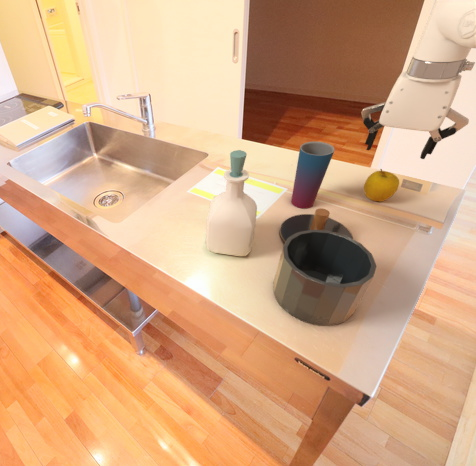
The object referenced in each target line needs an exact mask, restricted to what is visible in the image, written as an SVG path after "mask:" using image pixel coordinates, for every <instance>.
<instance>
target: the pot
mask: <svg viewBox="0 0 476 466" xmlns="http://www.w3.org/2000/svg"><path fill="white" fill-rule="evenodd" d="M278 260H279V261H278V264H277V268H276V272H275V276H274V280H273V282H272V283H273V284H272V285H273V289H272V290H273V295H274V298H275V300H276V302H277V303H278V305H279V306H280V307H281V308H282V309H283V311H285V312H286V313H287V314H288V315H290V316H292V318H295V319H297V320H299V321H301V322H303V323H306V324H309V325H312V326H313V325H314V326H320V327H330V326H336V325H340V324H342V323H345V322H346V321H348V320H349V318H351V316H353V315H354V313H355V311H356V309H357V308H358V306H359V304H360V302H361V300H362V298H363V296H364V295H365V293H366V291H367V289H369V286H370V284H371V282H372V280H373V278H374V277H375V273H376V270H377V263H376V260H375V258H374V255H373V254H372V253H371V252H370V251H369V250H368V249H367V247H365V246H364V244H362V243H361V242H359V241H357V240H355V239H354V238H353V239H351V238H350V237H348V236H345V235H342V234H339V233H335V232H332V231H327V230H307V231H301V232H298V233H296V234H294V235H292V236H291V237H289V238H288V239H287V240H286V242H284V244H283V245H282V249H281V253H280V257H279V259H278Z"/></svg>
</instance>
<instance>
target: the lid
mask: <svg viewBox="0 0 476 466" xmlns="http://www.w3.org/2000/svg"><path fill="white" fill-rule="evenodd" d="M330 214H331V213H330V210H329V209H326V208H321V207H319V208H316V210H315V211H314V214H311V213H305V214H296V215H293V216H290V217H288V218H287V219H285V220H284V221H283V222H282V223H281V225H280V229H279V235H280V238H281V240H282V241H283V243H285V242H286V240H287V239H288V238H289V237H291V236H292V235H294V234H296V233H298V232H301V231H307V230H327V231H332V232H335V233H339V234H342V235H345V236H348V237H350V238H351V239H353V240H354V237H353V234H352V233H351V231H350V230H349V229H348V228H347V227H346V226H345V225H344V224H342V223H341V222H339V221H337V220H336V219H333V218H331V217H329V216H330Z"/></svg>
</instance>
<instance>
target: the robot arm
mask: <svg viewBox="0 0 476 466" xmlns="http://www.w3.org/2000/svg"><path fill="white" fill-rule="evenodd" d="M472 49H476V0H435V1H434V3H433V6H432V9H431V11H430V13H429V16H428V19H427V20H426V23H425V26H424V28H423V31H422V34H421V35H420V38H419V40H418V43H417V45H416V48H415V49H414V52H413V55H412V57H411V60H410V62H409V65H408V66H407V69H406V71H402V72H401V73H400V74H399V76H398V77H397V79H396V81H395V83H394V85H393V86H392V88H391V89H390V90H391V91H390V93H389V95H388V97H387V99H386V101H384V102H381V103H377V104H374V105H370V106H367V107H364V108H362V110H361V112H360V113H361V118H362V123H363V125H364V126H365V127H366V129H367V131H368V135H367V138H366V140H365V143H364V145H365V146H367V147H366V149H365V150H366V151H371V150H372V147H373V144H374V142H375V141H376V137H377V135H378V132H379V130H380V129H382V128H384V127H388V128H395V129H401V130H403V129H404V130H410V131H419V132H429V135H430V136H429V137H428V139H427V141H426V143H425V144H424V146H423V149H422V151H421V153H420V155H419V158H420V159H421V160H425V159H426V157H427V155H432V154H433V152H434V150H435V148H436V146H437V144H438V143H440V142H441V141H442V140H444V139H446V138H449V137H451V136H453V135H455V134H456V133H457V132H459V131H460V130H462V129H463V128H464V127H466V126H468V124H469V123H470V121H469V118H468V117H466V116H465V115H463V114H461V113H460V112H458V111H457V110H455V109H453V108H452V107H451V106H452V104H453V101H454V100H455V98H456V94H457V91H458V89H459V87H460V84H461V82H462V81H461V80H462V74H461V73H462V72H466V71H472V70H473V68H474V66H475V64H476V62H475V61H470V60H468V59H467V58H468V56H469V54H470V51H471V50H472ZM378 112H381V113H380V116H379V119H378V120H375V121H374V119H373V118H372V117H371V115H372V114H374V113H378ZM446 118H447V119H449V120H450V121H452V122H454V123H453V124H452V125H451V126H448V127H446V128H443V129H441V126H442V124H443V123H444V121H445V119H446Z"/></svg>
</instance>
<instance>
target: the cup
mask: <svg viewBox="0 0 476 466" xmlns="http://www.w3.org/2000/svg"><path fill="white" fill-rule="evenodd" d="M335 150H336V149H335V147H334V146H333V145H332V144H329V143H327V142H325V141H324V142H323V141H307V142H304V143H302V144H301V145H300V146H299V152H298V157H297V165H296V169H295V174H294V175H295V176H294V182H293V189H292V194H291V200H290V204H291V205H293V206H294V207H295V208H299V209H304V210H305V209H309V208H312V207H313V206H314V203H315V201H316V199H317V196H318V193H319V191H320V189H321V187H322V183H323V181H324V178H325V177H326V174H327V171H328V168H329V165H330V163H331V161H332V158H333V155H334V153H335Z"/></svg>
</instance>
